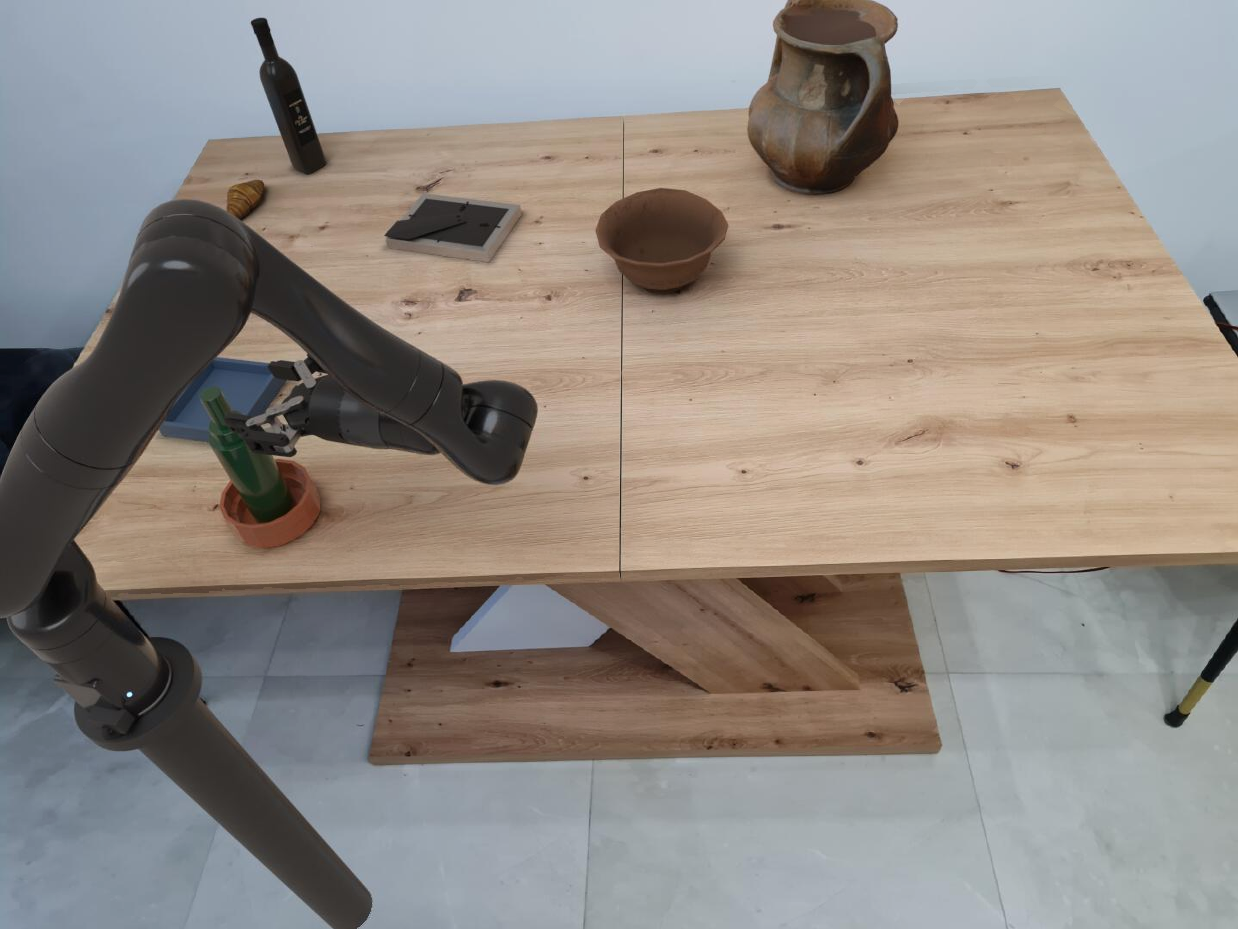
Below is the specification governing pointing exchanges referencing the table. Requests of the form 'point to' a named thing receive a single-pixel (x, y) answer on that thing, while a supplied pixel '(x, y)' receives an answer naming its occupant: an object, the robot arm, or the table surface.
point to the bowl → (661, 237)
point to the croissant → (244, 198)
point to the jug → (825, 94)
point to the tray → (240, 385)
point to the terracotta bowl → (283, 526)
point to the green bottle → (246, 464)
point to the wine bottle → (288, 104)
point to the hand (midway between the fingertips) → (250, 394)
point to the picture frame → (454, 227)
